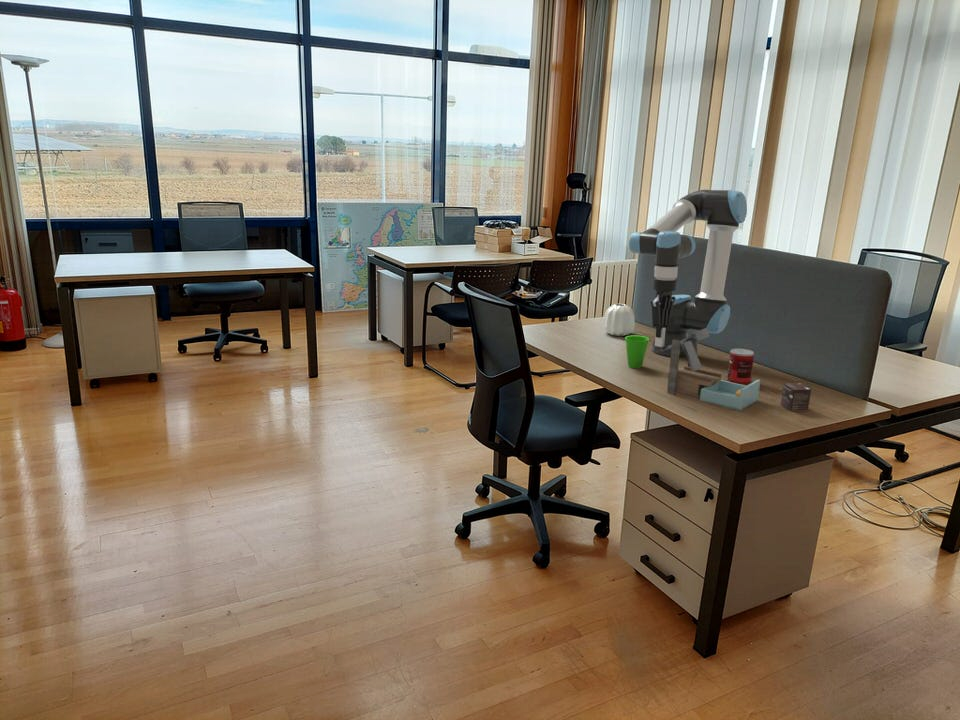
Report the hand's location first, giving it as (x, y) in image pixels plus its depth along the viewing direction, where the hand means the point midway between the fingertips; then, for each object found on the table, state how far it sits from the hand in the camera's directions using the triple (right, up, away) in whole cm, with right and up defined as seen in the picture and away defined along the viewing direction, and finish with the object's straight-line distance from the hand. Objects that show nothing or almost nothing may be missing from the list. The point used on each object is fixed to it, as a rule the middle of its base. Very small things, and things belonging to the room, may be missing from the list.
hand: (659, 345), depth 236 cm
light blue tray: (+19, -18, -13) cm, 29 cm away
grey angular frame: (+10, -16, -4) cm, 19 cm away
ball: (+21, -15, -16) cm, 30 cm away
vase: (0, +7, +70) cm, 70 cm away
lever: (+10, -9, -6) cm, 14 cm away
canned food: (+30, -13, +6) cm, 33 cm away
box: (+38, -20, -19) cm, 47 cm away
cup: (-3, -7, +23) cm, 24 cm away
